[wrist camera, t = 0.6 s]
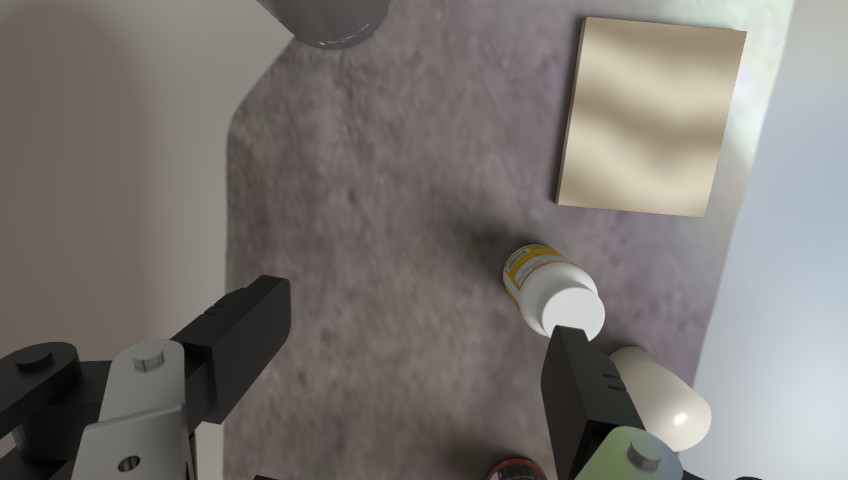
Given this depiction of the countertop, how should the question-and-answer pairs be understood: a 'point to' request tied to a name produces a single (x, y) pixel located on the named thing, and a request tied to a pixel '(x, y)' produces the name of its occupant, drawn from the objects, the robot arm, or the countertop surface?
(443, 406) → the countertop surface
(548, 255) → the supplement bottle
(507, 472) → the supplement bottle
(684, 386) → the ceramic jar
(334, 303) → the countertop surface
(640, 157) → the ash board
